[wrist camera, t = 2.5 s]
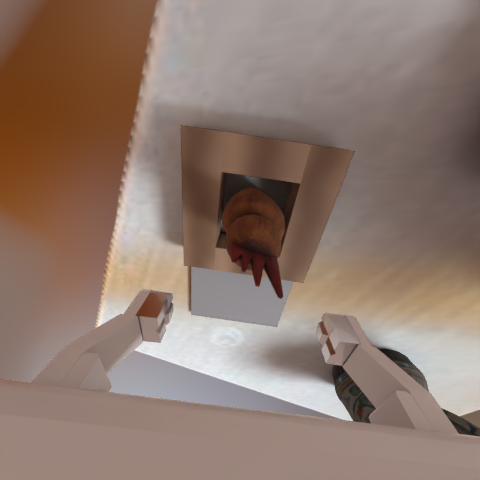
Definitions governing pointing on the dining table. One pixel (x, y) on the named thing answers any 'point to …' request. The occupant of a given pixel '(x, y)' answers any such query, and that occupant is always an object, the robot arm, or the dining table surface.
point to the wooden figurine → (255, 234)
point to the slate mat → (236, 297)
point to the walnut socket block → (263, 166)
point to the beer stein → (363, 407)
